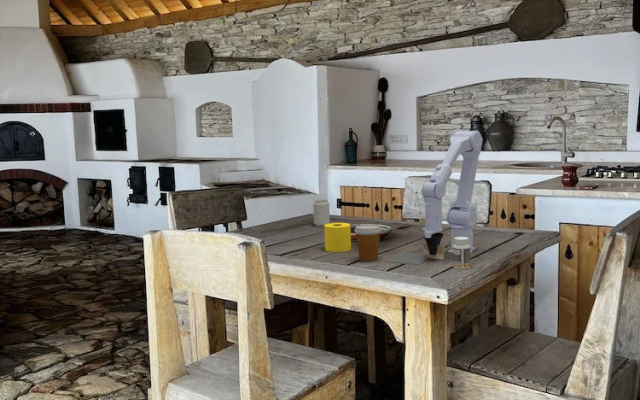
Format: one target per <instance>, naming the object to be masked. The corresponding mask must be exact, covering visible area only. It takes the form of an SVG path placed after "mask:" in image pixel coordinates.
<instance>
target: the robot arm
mask: <svg viewBox="0 0 640 400" xmlns="http://www.w3.org/2000/svg"><path fill="white" fill-rule="evenodd" d="M483 141H484V140H483V137H482V135H481V133H480V131H478V130H454V131H452V133H451V135H450V137H449V147H448V149H447V152H446V154H445V156H444V159H443V161H442V163H439V164H437V166H435V169H434V171H433V173H432V175H431V176H430V178H429V180H428V181H426V182H425V183H424V184H423V185H422V187H421V190H420V194H421V196H422V197H423V203H424V214H425V215H424V216H425V217H424V220H425V221H424V222H425V225H424V226H425V227H422V228H421V231H424V234H423V239H424V241H425V242H426V243H427V246H428V250H429V254H430V255H436V253H437V246H438V244H440V245H441V241H442V239H443V237H444V235H445V234H444V233H443V214H442V213H443V206H442V205H443V201H442V200H443V199H442V198H443V197H444V196H445V195H446V191H447V190H446V189H447V183H448V181H449V180H450V177H451V176H452V173H453V170H452V167H453V166H454V165H455V163H456V161H457V159H458V158H459V156H460V155H461V156H462V159H463V160H462V164H461V172H460V177H459V182H458V187H457V195H456V199H455V200H453V202H451V203H450V204H449V208H448V211H447V212H446V214H445V217H446V222H447V224H448V225H449V227H450V228H451V230H450V231H451V233H450V234H451V240H450V241H451V242H450V243H451V244H450V245H451V248H450V249H449V250H448V251H447V252H448V253H453V245H454V244H455V242H454V238H455V237H468V238H469V242H468V244H469V245H470V254H471V253H472V252H473V251H475V250H476V248H477V247H475V246H474V240H473V239H474V232H473V228H474V227H475V225H476V224H477V220H478V218H477V210H478V209H477V207H476V206H475V205H474V203H473V202H472V198H473V194H474V187H475V181H476V175H477V169H478V164H479V158H480V157H479V156H480V154H481V151H482V146H483Z"/></svg>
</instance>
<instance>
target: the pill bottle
mask: <svg viewBox="0 0 640 400" xmlns="http://www.w3.org/2000/svg"><path fill="white" fill-rule="evenodd" d="M454 242H455V244H454V245H453V252H452V267H453V268H454V269H458V270H459V269H460V270H467V269H470V268H471V265H472V264H471V253H470V245H469V244H468V242H469V238H468V237H455V238H454Z"/></svg>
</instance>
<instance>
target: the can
mask: <svg viewBox="0 0 640 400" xmlns="http://www.w3.org/2000/svg"><path fill="white" fill-rule="evenodd" d="M312 209H313V224H314V225H315V226H316V227H324V225H325V224H330V223H331V219H330V218H331V216H330V202H328V199H315V200H314V202H313V206H312Z"/></svg>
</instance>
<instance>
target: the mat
mask: <svg viewBox="0 0 640 400" xmlns="http://www.w3.org/2000/svg"><path fill="white" fill-rule="evenodd" d="M427 260H428V258H426V257H423V253H418V252H405V251H400V252H398V253H397V254H395V255H393V256H392V257H390V258H388V259H387V260H385V263H389V264H391V263H392V264H404V265H416V266H417V265H418V266H420V265H421V264H422V263H423V262H425V261H427Z"/></svg>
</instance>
